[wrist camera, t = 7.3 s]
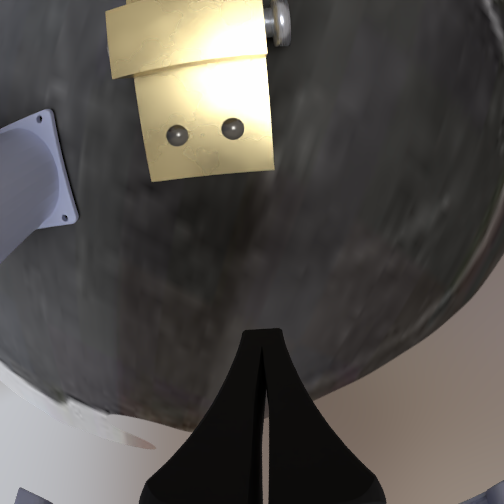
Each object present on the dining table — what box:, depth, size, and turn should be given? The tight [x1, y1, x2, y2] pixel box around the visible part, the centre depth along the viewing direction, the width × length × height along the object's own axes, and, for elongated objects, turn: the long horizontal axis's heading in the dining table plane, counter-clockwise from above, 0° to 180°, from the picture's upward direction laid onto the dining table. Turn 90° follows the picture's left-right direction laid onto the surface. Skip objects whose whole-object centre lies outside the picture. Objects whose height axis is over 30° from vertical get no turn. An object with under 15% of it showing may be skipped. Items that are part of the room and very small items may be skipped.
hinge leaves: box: [106, 0, 274, 182], centre depth 12 cm, size 7×16×3 cm, turn 5°
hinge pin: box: [107, 0, 291, 57], centre depth 12 cm, size 9×3×3 cm, turn 95°
